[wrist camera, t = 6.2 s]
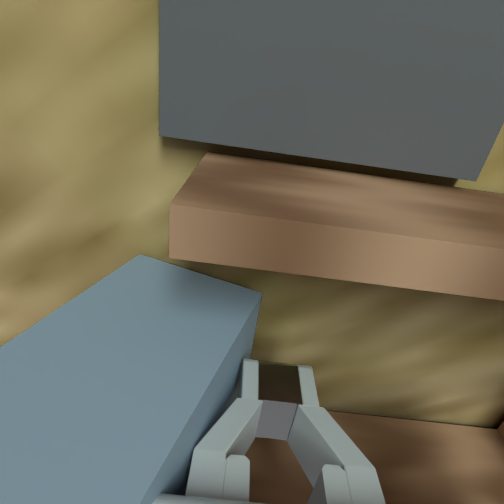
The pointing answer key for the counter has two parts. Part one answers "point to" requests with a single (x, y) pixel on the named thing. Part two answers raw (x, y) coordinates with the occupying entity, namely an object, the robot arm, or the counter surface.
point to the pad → (337, 79)
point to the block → (121, 386)
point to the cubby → (365, 271)
